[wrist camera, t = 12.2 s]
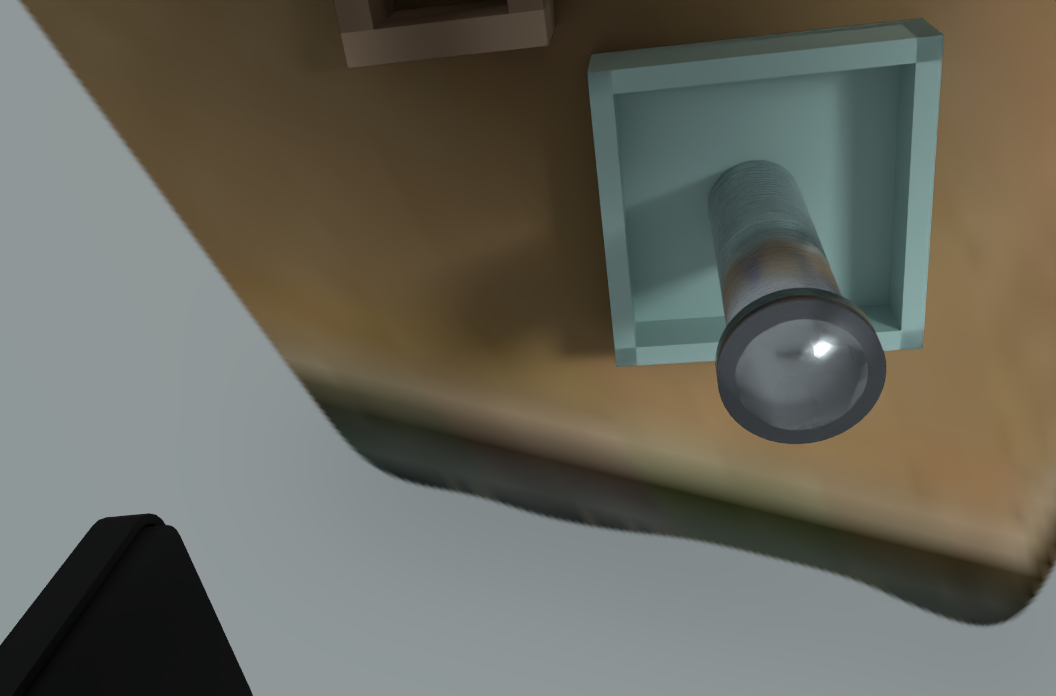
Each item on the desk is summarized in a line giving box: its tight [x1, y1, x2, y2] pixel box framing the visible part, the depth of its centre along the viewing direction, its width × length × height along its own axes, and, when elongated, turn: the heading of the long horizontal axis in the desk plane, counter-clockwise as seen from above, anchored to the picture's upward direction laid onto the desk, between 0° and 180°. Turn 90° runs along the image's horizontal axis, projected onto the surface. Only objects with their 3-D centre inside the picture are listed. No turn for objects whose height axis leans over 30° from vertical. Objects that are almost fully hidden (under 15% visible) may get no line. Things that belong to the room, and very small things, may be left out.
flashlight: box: [708, 160, 886, 444], centre depth 28 cm, size 4×4×11 cm
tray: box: [587, 18, 944, 367], centre depth 32 cm, size 10×10×2 cm
